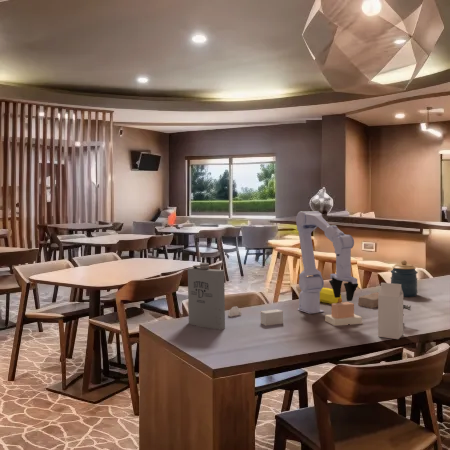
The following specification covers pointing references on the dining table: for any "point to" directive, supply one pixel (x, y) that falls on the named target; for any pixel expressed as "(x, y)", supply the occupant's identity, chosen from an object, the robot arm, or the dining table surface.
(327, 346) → the dining table surface
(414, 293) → the canister
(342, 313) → the terracotta brick
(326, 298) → the yellow banana
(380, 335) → the milk carton
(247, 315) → the dining table surface
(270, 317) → the grey brick
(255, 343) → the dining table surface
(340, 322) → the cream base brick
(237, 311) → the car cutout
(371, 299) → the brick
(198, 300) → the flask
